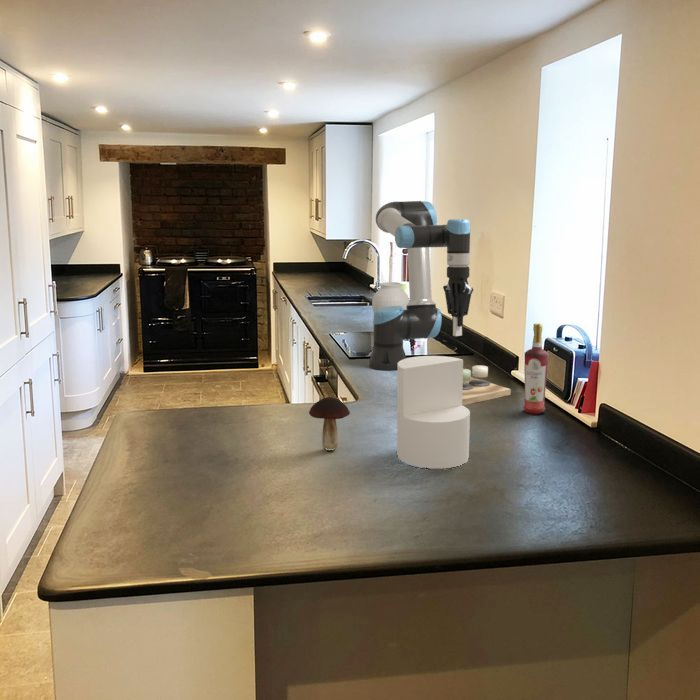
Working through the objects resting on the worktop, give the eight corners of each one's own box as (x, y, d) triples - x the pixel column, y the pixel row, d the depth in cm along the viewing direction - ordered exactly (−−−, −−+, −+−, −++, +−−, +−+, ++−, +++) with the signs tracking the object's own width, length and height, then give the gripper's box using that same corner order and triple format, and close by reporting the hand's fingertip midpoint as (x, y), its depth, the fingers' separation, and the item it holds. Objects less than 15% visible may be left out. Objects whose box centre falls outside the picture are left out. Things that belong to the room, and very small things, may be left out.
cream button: (468, 375, 251) (468, 366, 250) (480, 372, 254) (480, 364, 253) (479, 378, 246) (479, 369, 246) (491, 376, 249) (491, 367, 249)
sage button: (451, 378, 247) (451, 370, 246) (463, 376, 249) (463, 367, 249) (461, 381, 242) (462, 373, 241) (473, 379, 245) (474, 371, 244)
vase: (410, 338, 337) (410, 285, 331) (372, 339, 337) (372, 286, 331) (408, 331, 354) (408, 280, 348) (371, 331, 354) (371, 281, 349)
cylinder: (385, 450, 194) (385, 360, 188) (445, 440, 201) (446, 353, 196) (418, 474, 177) (419, 376, 172) (482, 462, 184) (485, 368, 179)
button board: (414, 391, 250) (414, 384, 249) (466, 380, 262) (466, 374, 262) (456, 406, 231) (457, 399, 231) (510, 394, 244) (510, 387, 244)
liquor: (547, 410, 227) (552, 323, 221) (543, 416, 220) (548, 327, 214) (524, 407, 230) (528, 321, 224) (519, 414, 223) (523, 325, 217)
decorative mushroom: (355, 446, 197) (355, 393, 194) (342, 460, 187) (341, 404, 184) (318, 442, 201) (317, 390, 197) (303, 455, 190) (301, 401, 187)
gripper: (437, 265, 243) (436, 334, 248) (462, 267, 233) (461, 339, 237) (454, 264, 247) (453, 332, 252) (479, 266, 236) (478, 336, 241)
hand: (457, 335), depth 244 cm, fingers closed
